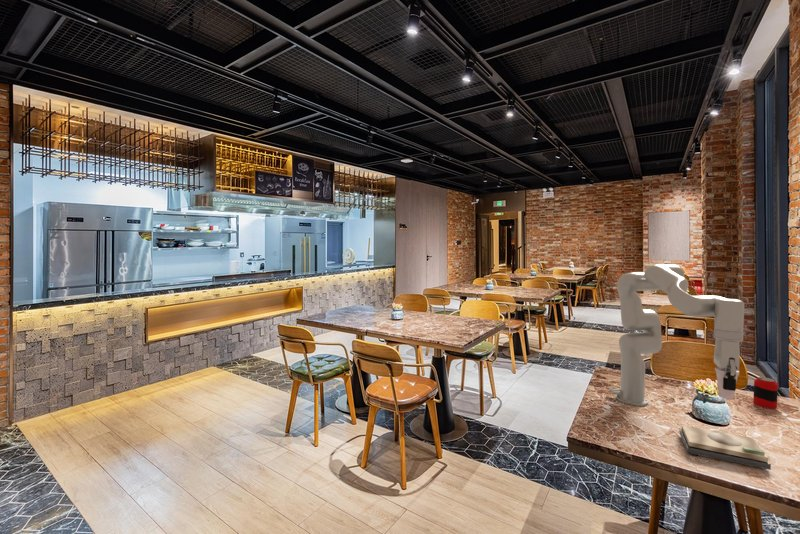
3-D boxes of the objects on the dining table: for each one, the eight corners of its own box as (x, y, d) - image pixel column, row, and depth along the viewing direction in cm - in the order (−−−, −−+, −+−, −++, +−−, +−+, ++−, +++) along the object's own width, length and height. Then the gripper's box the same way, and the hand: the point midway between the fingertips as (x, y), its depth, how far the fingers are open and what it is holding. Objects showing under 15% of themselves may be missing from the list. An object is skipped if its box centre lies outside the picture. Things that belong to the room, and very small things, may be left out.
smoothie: (743, 401, 124) (745, 360, 123) (721, 400, 125) (722, 359, 125) (730, 394, 130) (731, 354, 130) (709, 392, 131) (710, 353, 131)
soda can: (751, 400, 172) (752, 375, 171) (773, 404, 168) (774, 378, 167) (756, 406, 165) (757, 380, 164) (779, 410, 161) (780, 383, 161)
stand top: (689, 445, 127) (689, 439, 127) (681, 428, 139) (681, 422, 139) (768, 462, 117) (768, 455, 117) (752, 442, 129) (752, 435, 129)
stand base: (687, 455, 127) (687, 447, 127) (679, 435, 140) (679, 428, 140) (770, 472, 117) (770, 464, 117) (753, 450, 130) (753, 442, 130)
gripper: (708, 329, 136) (706, 377, 137) (721, 339, 121) (719, 393, 122) (734, 331, 132) (732, 380, 133) (751, 341, 117) (749, 397, 118)
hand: (726, 386), depth 128 cm, fingers closed on smoothie, 6 cm apart
